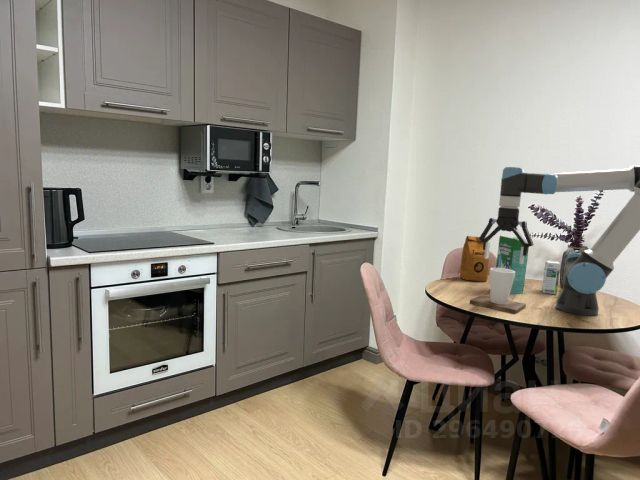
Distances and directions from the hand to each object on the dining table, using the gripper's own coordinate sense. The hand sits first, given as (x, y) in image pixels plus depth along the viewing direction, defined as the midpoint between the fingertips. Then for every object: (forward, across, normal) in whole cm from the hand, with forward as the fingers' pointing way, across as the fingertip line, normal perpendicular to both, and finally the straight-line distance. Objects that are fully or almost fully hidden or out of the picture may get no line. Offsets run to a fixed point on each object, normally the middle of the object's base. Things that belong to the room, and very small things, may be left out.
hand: (503, 261), depth 192 cm
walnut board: (+18, 0, 0) cm, 18 cm away
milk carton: (+18, +6, -30) cm, 36 cm away
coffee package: (+18, +26, -40) cm, 51 cm away
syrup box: (+19, -8, -45) cm, 49 cm away
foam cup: (+17, 0, 0) cm, 17 cm away
